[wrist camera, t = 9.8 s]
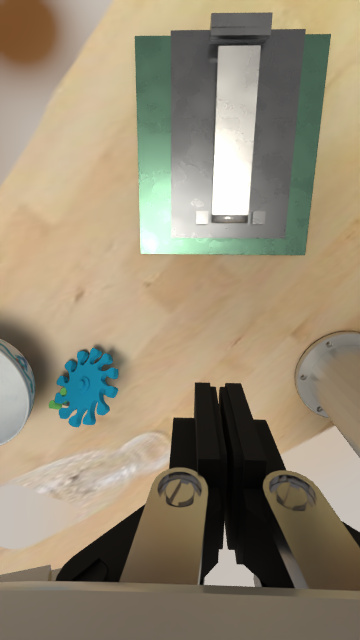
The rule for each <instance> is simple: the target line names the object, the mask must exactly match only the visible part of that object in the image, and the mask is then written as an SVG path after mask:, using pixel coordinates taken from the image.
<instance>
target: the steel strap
mask: <svg viewBox="0 0 360 640" xmlns="http://www.w3.org/2000/svg"><path fill="white" fill-rule="evenodd" d="M260 50H261V45H254V46H218V58H217V85H216V111H215V138H214V165H213V192H212V218H211V222H212V223H247V222H248V212H249V199H250V185H251V172H252V158H253V144H254V131H255V117H256V104H257V90H258V77H259V63H260Z"/></svg>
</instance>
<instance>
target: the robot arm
mask: <svg viewBox="0 0 360 640" xmlns="http://www.w3.org/2000/svg"><path fill="white" fill-rule="evenodd" d="M327 342H328V343H327ZM326 343H327V344H326ZM301 375H302V376H301ZM295 385H296V388H297V392H298V394H299V396H300V398H301V399H302V401H303V402H304V404H305V405H306V406H307V407H308V408H309V409H310V410H312V411H313V412H315V413H316V414H318V415H321V416H323V417H327V418H330V419H331V420H332V422H333V423H334V424H335V426H336V427H337V428H338V430H339V431H340V432H341V434H342V435H343V436H344V438H345V439H346V440H347V442H348V443H349V444H350V446H351V447H352V448H353V450H354V451H355V452H356V453H357V455H358V456H359V457H360V333H359V332H350V331H344V332H338V333H334V334H331V335H328V336H325V337H323V338H322V339H320V340H318V341H317V342H315V343H314V344H313V345H311V346H310V347H309V348H308V349H307V351H306V352H305V353H304V354H303V356H302V357H301V359H300V361H299V363H298V366H297V368H296V374H295ZM224 521H225V529H226V537H227V546H228V549H229V550H235V555H236V562H237V564H243V565H245V566H246V567H247V568H248V569H249V570H250V571H251V572H252V573H254V584H255V587H242V586H240V587H239V586H215V585H212V586H211V585H204V581H205V576H206V575H207V574H208V573H209V571H210V570H212V568H213V567H214V566H215V565H216V564H217V563H218V552H219V549H222V548H223V534H224ZM0 640H360V532H358V531H357V530H355V529H353V528H352V527H350V526H349V525H347V524H345V523H344V522H342V521H341V520H340V518H339V517H338V516H337V514H336V513H335V511H334V510H333V508H332V507H331V506H330V504H329V503H328V501H327V500H326V498H325V497H324V495H323V494H322V493H321V491H320V490H319V488H318V487H317V486H316V485H315V484H314V483H313V482H312V481H311V480H309V479H308V478H307V477H305V476H303V475H301V474H298V473H296V472H292V471H286V468H285V466H284V463H283V461H282V459H281V456H280V453H279V451H278V449H277V446H276V444H275V441H274V439H273V436H272V434H271V431H270V429H269V426H268V424H267V422H266V420H253V418H252V415H251V412H250V409H249V406H248V403H247V400H246V397H245V394H244V391H243V388H242V385H241V383H226V384H225V387H220V390H219V404H218V398H217V392H216V387H210V383H195V403H194V418H174V419H173V430H172V442H171V454H170V465H169V469H168V470H166V471H164V472H162V473H161V474H159V475H158V476H157V477H156V478H155V480H154V482H153V484H152V487H151V490H150V493H149V496H148V499H147V501H146V504H145V505H143V506H142V507H141V508H139V509H138V510H137V511H135V512H134V513H132V514H131V515H130V516H128V517H127V518H126V519H124V520H123V521H121V522H120V523H119V524H117V525H116V526H115V527H113V528H112V529H110V530H109V531H108V532H106V533H105V534H103V535H102V536H101V537H99V538H98V539H97V540H95V541H94V542H92V543H91V544H90V545H88V546H87V547H86V548H84V549H83V550H81V551H80V552H79V553H77V554H76V555H75V556H73V557H72V558H71V559H70V560H69V561H68V562H67V563H66V564H65V565H64V566H63V568H60V569H56V570H51V565H47V566H42V567H37V568H33V569H28V570H23V571H18V572H13V573H8V574H3V575H0Z"/></svg>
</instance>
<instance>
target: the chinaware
mask: <svg viewBox="0 0 360 640" xmlns="http://www.w3.org/2000/svg"><path fill="white" fill-rule="evenodd" d="M34 398H35V380H34V375H33V372H32V369H31V367H30V365H29V363H28V361H27V360H26V358H25V357H24V356H23V355H22V354H21V353H20V352H19V351H18V350H17V349H16V348H15V347H14V346H12V345H11V344H9V343H8V342H6V341H4V340H2V339H0V445H3V444H5V443H7V442H8V441H10V440H11V439H13V438H14V437H15V436H16V435H17V434H18V433H19V432H20V431H21V430H22V428H23V427H24V425H25V423H26V421H27V419H28V417H29V415H30V413H31V410H32V407H33V403H34Z"/></svg>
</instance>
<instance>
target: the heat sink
mask: <svg viewBox="0 0 360 640" xmlns="http://www.w3.org/2000/svg"><path fill="white" fill-rule="evenodd" d="M271 25H272V13H212V14H211V24H210V30H178V31H171V36H135V61H136V97H137V133H138V169H139V206H140V242H141V254H237V255H305V250H306V242H307V233H308V225H309V216H310V208H311V199H312V191H313V182H314V174H315V165H316V157H317V148H318V140H319V131H320V123H321V114H322V106H323V97H324V89H325V80H326V72H327V63H328V55H329V46H330V38H331V34H305V31H306V29H278V30H271ZM254 45H261V50H260V63H259V77H258V90H257V104H256V117H255V131H254V144H253V158H252V172H251V185H250V199H249V212H248V222H247V223H212V222H211V218H212V192H213V165H214V138H215V111H216V85H217V58H218V46H254Z"/></svg>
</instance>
